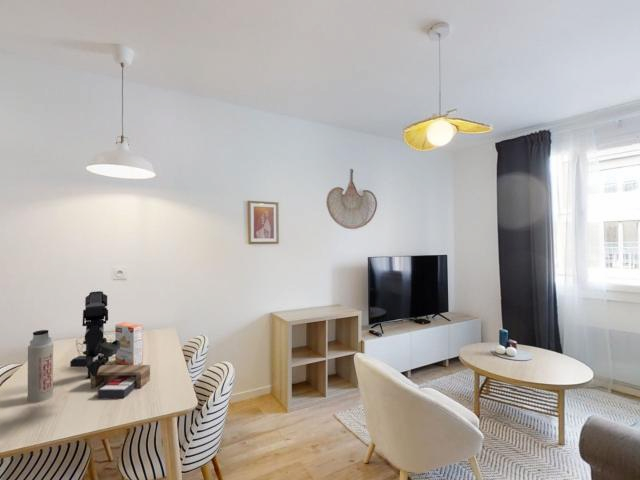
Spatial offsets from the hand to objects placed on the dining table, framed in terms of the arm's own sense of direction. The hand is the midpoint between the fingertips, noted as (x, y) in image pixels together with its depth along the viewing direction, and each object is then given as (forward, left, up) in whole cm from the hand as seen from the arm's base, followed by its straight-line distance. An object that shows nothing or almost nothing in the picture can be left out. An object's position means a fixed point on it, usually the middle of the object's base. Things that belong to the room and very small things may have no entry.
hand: (94, 375), depth 126 cm
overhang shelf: (0, +18, -12) cm, 22 cm away
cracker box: (-10, +42, -12) cm, 45 cm away
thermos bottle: (-26, +6, -12) cm, 29 cm away
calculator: (+3, +13, -13) cm, 18 cm away
